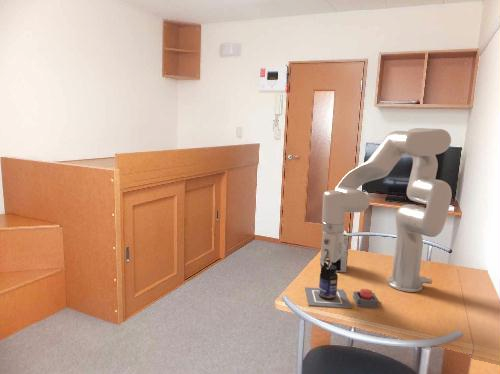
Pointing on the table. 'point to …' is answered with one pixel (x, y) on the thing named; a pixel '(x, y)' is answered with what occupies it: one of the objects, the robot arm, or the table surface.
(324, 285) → the pill bottle
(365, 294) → the button
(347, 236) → the candy bar box
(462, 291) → the table surface
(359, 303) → the button housing
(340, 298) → the gray square pad
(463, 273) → the table surface
